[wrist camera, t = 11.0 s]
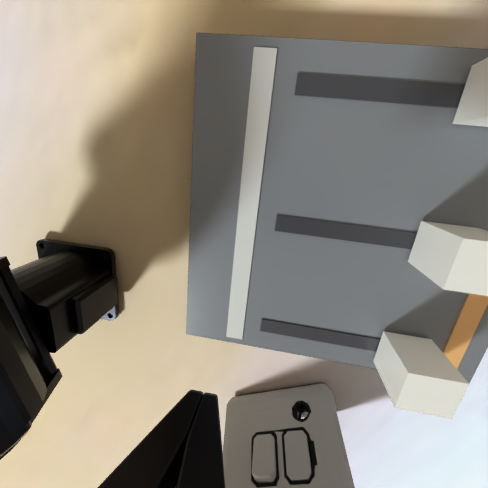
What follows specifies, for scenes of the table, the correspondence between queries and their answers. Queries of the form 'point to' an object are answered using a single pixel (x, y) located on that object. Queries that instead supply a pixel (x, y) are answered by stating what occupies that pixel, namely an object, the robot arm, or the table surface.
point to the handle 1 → (419, 375)
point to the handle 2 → (474, 97)
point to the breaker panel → (330, 195)
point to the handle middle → (452, 256)
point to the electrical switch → (285, 440)
